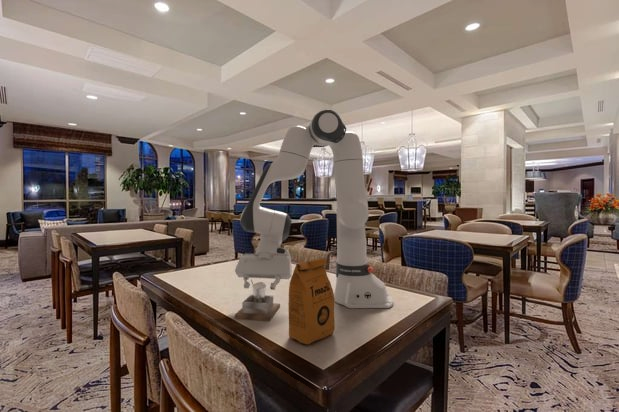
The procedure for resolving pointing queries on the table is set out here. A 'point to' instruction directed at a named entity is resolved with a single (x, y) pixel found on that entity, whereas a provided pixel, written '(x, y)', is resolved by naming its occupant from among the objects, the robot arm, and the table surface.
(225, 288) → the table surface
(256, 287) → the milkshake
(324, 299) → the coffee package
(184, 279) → the table surface
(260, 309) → the socket base
